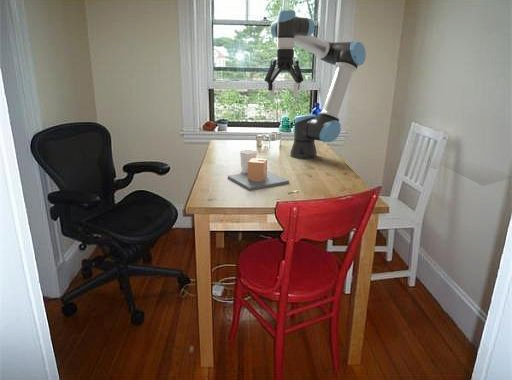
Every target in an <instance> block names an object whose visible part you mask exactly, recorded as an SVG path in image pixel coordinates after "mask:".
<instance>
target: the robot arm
mask: <svg viewBox="0 0 512 380" xmlns="http://www.w3.org/2000/svg"><path fill="white" fill-rule="evenodd" d="M315 26H316V25H315V21H314V20H313V19H311V18H308V17H299V16H296V11H295V10H293V9H282V10H280V11H278V13H277V20H275V21H273V22H272V23H271V24H270V28H269V32H270V35H271V36H272V38H273V37H274V38H276V39H277V42H276V43H277V44H276V45H277V46H276V47H277V50H276V58H277V59H271V60H270V66H269V68H268V71H267V73H266V75H265V78H264V82H266V83H267V84H268V86H267V87H268V88H267V89H268V91H269V96H268V97H269V99H275V80H276V79H277V77H278V76H279V75H280V73H281V72H282V71H284V72H285V71H286V72H287V71H288V72H289V74H290V75H291V77H292V79H293V80H294V82H293V95H292V96H293V98H299V90H300V86H301V85H300V84H301V83H302V82H304V77H303V74H302V70H301V68H300V63H299V60H298V59H295V60H294V55H295V54H294V53H295V49H294V48H295V45H296V46H298V47H299V48H301V49H303V50H305V51H308V52H309V53H311V54H313V55H315V57H316V58H317V59H319V60H321V61H323V62H325V63H327V64H329V65H333V66H335V67H336V68H335V73H334V76H333V78H332V82H331V84H330V87H329V90H328V93H327V96H326V99H325V101H324V104H323V108H322V111H320V112H318V114H317V115H316V114H305V115H297V116H295V118H294V126H293V127H294V131H293V134H294V135H293V144H292V147H291V149H290V157H292V158H294V159H295V158H296V159H303V160H304V159H314V158H317V156H318V151H317V147H316V141H320V142H322V143H333V142H334V141H335V140H337V139H338V137H339V136H340V133H341V129H342V127H341V123H340V118H339V113H340V111H341V108H342V104H343V102H344V99H345V95H346V93H347V91H348V90H347V89H348V86H349V84H350V81H351V78H352V76H353V74H354V73H355V72H357V69H358V67H360V66H362V65H363V64H364V63H365V61H366V58H367V57H366V55H367V52H366V48H365V45H364V44H363V42H361V41H353V40H352V41H343V42H338V41H337V42H330V41H327V40H325V39H324V40H322V39H320V38H318V37H316V36H314V35H312V34H313V33H314V32H315Z"/></svg>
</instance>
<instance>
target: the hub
mask: <svg viewBox="0 0 512 380" xmlns="http://www.w3.org/2000/svg"><path fill="white" fill-rule="evenodd" d="M227 179H228V180H230V181H232V182H234V183H236V184H238V185H239V186H241V187H243V188H244V189H246V190H248V191H254V190H259V189H264V188H265V189H266V188H271V187H276V186H281V185H287V184H290V180H289V179H287V178H284V177H282V176H281V175H278V174H275V173H273V172H271V171H269V170H267V177H266V178H265V179H264V181H260V180H248V173H243V172H241V173H236V174H231V175H227Z"/></svg>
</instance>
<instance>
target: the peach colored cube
mask: <svg viewBox="0 0 512 380" xmlns="http://www.w3.org/2000/svg"><path fill="white" fill-rule="evenodd" d="M267 171H268V159H267V158H258V157H256V158H252V159H251V160H249V161H248V180H260V181H264V179H265V178H266V177H267Z"/></svg>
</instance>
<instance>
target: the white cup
mask: <svg viewBox="0 0 512 380" xmlns="http://www.w3.org/2000/svg"><path fill="white" fill-rule="evenodd" d="M239 153H240V155H239V156H240V167H241V173H248V161H249V160H251V159H252V158H258V157H257V155H258V154H257V153H258V151H257V150H254V149H242V150H240V152H239Z"/></svg>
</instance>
